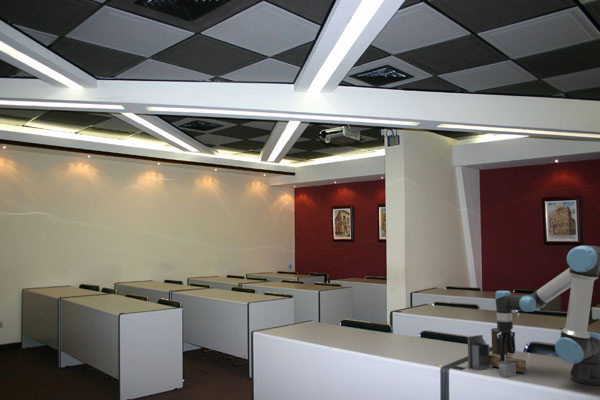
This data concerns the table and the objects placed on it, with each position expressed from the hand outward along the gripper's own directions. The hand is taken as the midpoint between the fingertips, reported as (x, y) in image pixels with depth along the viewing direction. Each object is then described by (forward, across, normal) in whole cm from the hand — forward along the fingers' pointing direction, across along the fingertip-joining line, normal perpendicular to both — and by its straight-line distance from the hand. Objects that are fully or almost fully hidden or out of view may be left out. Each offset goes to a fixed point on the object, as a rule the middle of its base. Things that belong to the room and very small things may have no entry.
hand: (507, 366), depth 240 cm
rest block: (+2, +9, +6) cm, 11 cm away
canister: (+1, -13, -12) cm, 18 cm away
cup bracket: (+1, +9, -11) cm, 14 cm away
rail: (0, 0, 0) cm, 1 cm away
